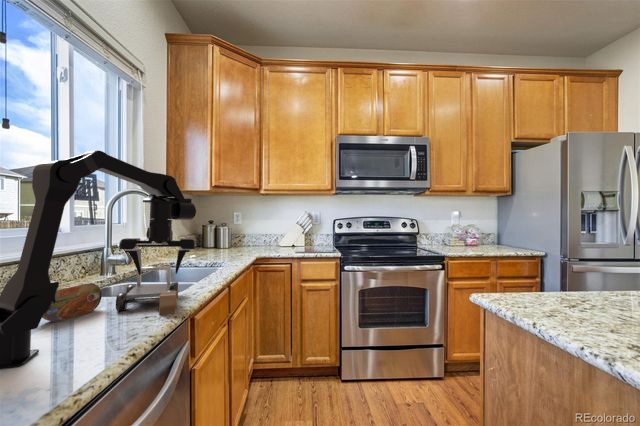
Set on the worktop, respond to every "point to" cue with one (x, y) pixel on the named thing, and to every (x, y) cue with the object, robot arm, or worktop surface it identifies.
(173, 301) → the block
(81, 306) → the tin
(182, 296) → the worktop surface
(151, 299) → the trolley
